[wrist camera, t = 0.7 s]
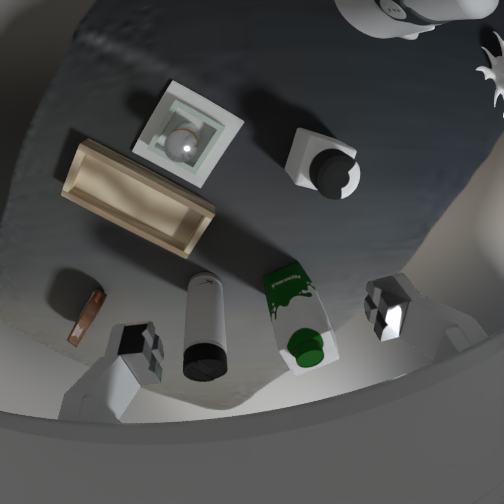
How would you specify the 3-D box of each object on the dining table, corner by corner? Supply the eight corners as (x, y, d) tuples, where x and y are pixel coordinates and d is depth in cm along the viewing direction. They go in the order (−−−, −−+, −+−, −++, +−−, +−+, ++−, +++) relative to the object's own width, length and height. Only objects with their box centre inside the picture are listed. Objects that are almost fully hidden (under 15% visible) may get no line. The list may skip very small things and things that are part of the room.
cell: (181, 116, 39) (174, 123, 32) (206, 130, 41) (204, 140, 34) (167, 140, 41) (157, 153, 34) (191, 153, 42) (186, 168, 35)
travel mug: (205, 264, 53) (204, 353, 36) (229, 286, 56) (237, 375, 39) (180, 282, 55) (171, 371, 38) (204, 303, 58) (204, 391, 41)
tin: (85, 327, 58) (75, 356, 51) (73, 320, 57) (62, 348, 50) (111, 286, 54) (100, 316, 46) (98, 278, 52) (85, 307, 45)
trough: (88, 138, 39) (80, 143, 36) (215, 205, 48) (215, 214, 45) (69, 187, 42) (60, 195, 39) (187, 247, 51) (186, 259, 48)
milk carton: (301, 255, 54) (337, 337, 38) (315, 289, 59) (348, 369, 42) (256, 274, 56) (275, 362, 39) (274, 306, 60) (295, 390, 43)
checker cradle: (173, 80, 36) (170, 80, 34) (244, 121, 41) (245, 123, 39) (133, 150, 41) (128, 154, 39) (200, 186, 46) (200, 192, 43)
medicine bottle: (283, 169, 46) (304, 198, 36) (296, 126, 42) (323, 142, 32) (324, 180, 47) (354, 211, 37) (339, 139, 44) (374, 160, 34)
